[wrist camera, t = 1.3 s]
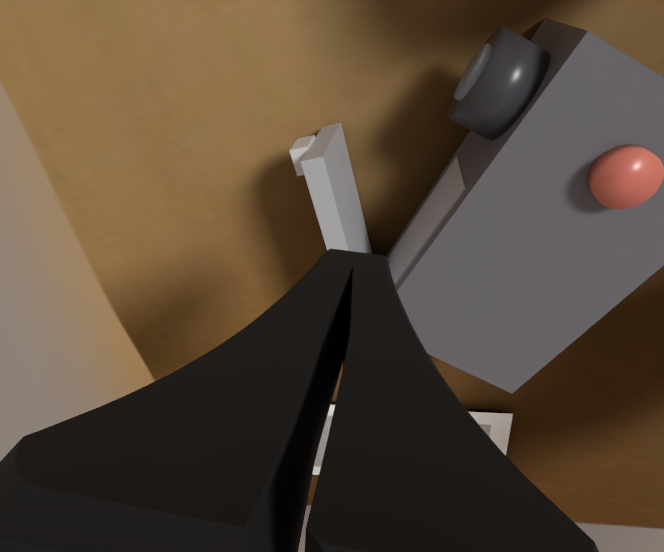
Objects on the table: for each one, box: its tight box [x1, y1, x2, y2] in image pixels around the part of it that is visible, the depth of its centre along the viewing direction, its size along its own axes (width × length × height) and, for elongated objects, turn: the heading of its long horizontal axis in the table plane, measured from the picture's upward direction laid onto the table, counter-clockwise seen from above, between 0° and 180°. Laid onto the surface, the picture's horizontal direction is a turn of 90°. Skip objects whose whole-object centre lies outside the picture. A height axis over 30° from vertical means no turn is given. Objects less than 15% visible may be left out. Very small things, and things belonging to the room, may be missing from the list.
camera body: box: [385, 19, 664, 394], centre depth 17 cm, size 9×12×5 cm
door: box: [289, 123, 372, 254], centre depth 18 cm, size 8×2×5 cm, turn 15°
